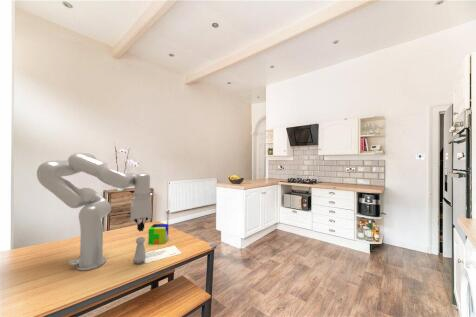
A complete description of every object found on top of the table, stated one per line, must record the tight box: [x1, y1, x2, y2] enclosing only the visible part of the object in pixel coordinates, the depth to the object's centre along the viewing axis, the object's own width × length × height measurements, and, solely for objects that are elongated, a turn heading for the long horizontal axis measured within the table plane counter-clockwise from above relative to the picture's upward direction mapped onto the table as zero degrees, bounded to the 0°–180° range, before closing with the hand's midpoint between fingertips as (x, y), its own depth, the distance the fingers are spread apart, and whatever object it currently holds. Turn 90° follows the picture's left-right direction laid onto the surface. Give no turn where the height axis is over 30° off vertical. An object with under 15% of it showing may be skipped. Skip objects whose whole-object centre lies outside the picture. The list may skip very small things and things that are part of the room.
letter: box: [143, 245, 182, 264], centre depth 117 cm, size 20×13×1 cm, turn 126°
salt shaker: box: [133, 236, 146, 265], centre depth 107 cm, size 6×6×13 cm
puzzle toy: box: [147, 223, 169, 245], centre depth 135 cm, size 10×10×10 cm
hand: (140, 230), depth 108 cm, fingers closed
